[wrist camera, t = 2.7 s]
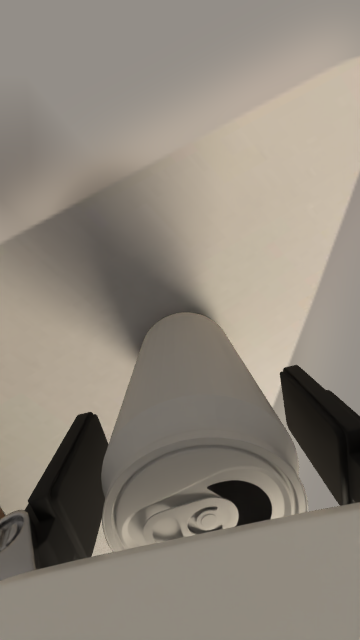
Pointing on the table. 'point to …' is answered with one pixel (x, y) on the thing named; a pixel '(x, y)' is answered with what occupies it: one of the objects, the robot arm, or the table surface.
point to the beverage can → (194, 442)
